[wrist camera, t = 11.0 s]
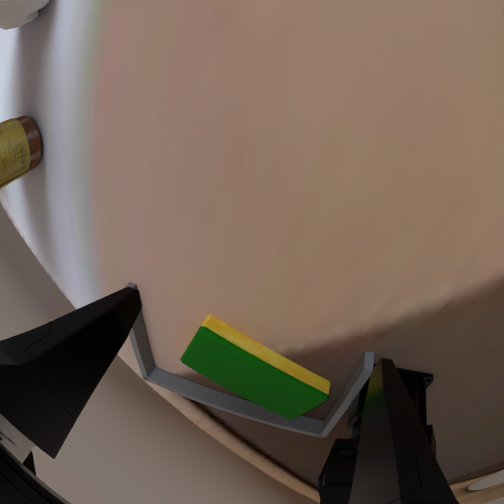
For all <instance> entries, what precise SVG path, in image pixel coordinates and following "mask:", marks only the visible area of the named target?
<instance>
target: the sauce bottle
mask: <svg viewBox="0 0 504 504" xmlns="http://www.w3.org/2000/svg"><path fill="white" fill-rule="evenodd" d="M41 151H42V143H41V136H40V133H39V131H38V128H37V126H36V124H35V123H34V121H33V120H32V119H31V118H29V117H27V116H21V117H18V118H15V119H14V118H13V119H9V120H6V121H4V122H1V123H0V188H2V187H4V186H6V185H7V184H9V183H11V182H12V181H14V180H16V179H18V178H20V177H21V176H23V175H25V174H27V173H28V171H30V170H32V169H33V168H35V167H36V166H37V165H38V163H39V162H40V158H41Z"/></svg>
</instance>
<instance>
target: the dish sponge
mask: <svg viewBox="0 0 504 504" xmlns="http://www.w3.org/2000/svg"><path fill="white" fill-rule="evenodd" d="M180 360H181V361H182V363H184V364H185V365H187V366H189V367H190V368H192V369H194V370H195V371H197V372H199V373H201V374H202V375H204V376H206V377H207V378H209V379H211V380H213V381H214V382H216V383H218V384H220V385H222V386H223V387H225V388H227V389H229V390H231V391H233V392H234V393H236V394H238V395H240V396H242V397H244V398H246V399H248V400H250V401H252V402H254V403H256V404H258V405H260V406H262V407H264V408H266V409H268V410H270V411H272V412H274V413H276V414H278V415H280V416H282V417H284V418H287V419H294V418H296V417H298V416H300V415H301V414H303V413H305V412H307V411H309V410H311V409H312V408H314V407H316V406H318V405H319V404H321V403H323V402H325V401H326V400H328V395H329V391H330V386H331V383H330V381H328V380H326V379H324V378H322V377H320V376H318V375H316V374H315V373H313V372H311V371H309V370H307V369H305V368H303V367H301V366H299V365H298V364H296V363H294V362H292V361H290V360H288V359H287V358H285V357H283V356H281V355H279V354H278V353H276V352H274V351H272V350H270V349H269V348H267V347H265V346H263V345H262V344H260V343H258V342H256V341H255V340H253V339H251V338H249V337H248V336H246V335H244V334H243V333H241V332H239V331H237V330H236V329H234V328H232V327H231V326H229V325H227V324H226V323H224V322H222V321H221V320H219V319H218V318H216V317H214V316H213V315H207V317H206V318H205V320H204V322H203V323H202V325H201V326H200V328H199V330H198V331H197V333H196V335H195V336H194V338H193V339H192V341H191V343H190V344H189V346H188V348H187V349H186V351H185V353H184V354H183V356H182V357H181V359H180Z"/></svg>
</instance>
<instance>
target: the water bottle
mask: <svg viewBox="0 0 504 504" xmlns="http://www.w3.org/2000/svg"><path fill="white" fill-rule="evenodd" d="M49 1H50V0H0V28H2V29H5V30H7V29H12V28H16V27H19V26H22V25H24V24H27V23H28V22H30V21H32V20H34V19H35V18H36V17H37V16H38V14H39V12H38V10H39V9H41V8H43V7H44V6H46V5H47V3H48V2H49Z"/></svg>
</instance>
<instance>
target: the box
mask: <svg viewBox="0 0 504 504" xmlns="http://www.w3.org/2000/svg"><path fill="white" fill-rule="evenodd" d="M126 287H133V288H136V289H137V287H136V284H133V283H129V284H128V285H127V286H126ZM126 287H125V288H126ZM129 336H130V339H131V342H132V346H133V349H134V352H135V355H136V358H137V361H138V364H139V367H140V370H141V373H142V376H143V379H145V380H147V381H149V382H152V383H154V384H156V385H158V386H161V387H163V388H165V389H168V390H170V391H172V392H175V393H177V394H180V395H182V396H185V397H187V398H190V399H192V400H195V401H198V402H200V403H203V404H206V405H208V406H211V407H214V408H217V409H220V410H222V411H225V412H228V413H231V414H234V415H238V416H241V417H244V418H247V419H250V420H254V421H257V422H260V423H264V424H267V425H271V426H275V427H278V428H282V429H286V430H290V431H294V432H298V433H302V434H307V435H311V436H316V437H320V438H326V436H327V435H328V434H329V433H330V431H331V430H332V429H333V427H334V426H335V425H336V423H337V422H338V421H339V419H340V418H341V417H342V415H343V414H344V413H345V411H346V410H347V409H348V407H349V406H350V404H351V403H352V401H353V400H354V398H355V397H356V395H357V394H358V393H359V391H360V390H361V389H362V387H363V386H364V384H365V383H366V381H367V380H368V378H369V376H370V375H371V373H372V371H373V363H374V353H373V352H368V351H365V353H364V355H363V356H362V358H361V360H360V362H359V364H358V365H357V367H356V369H355V371H354V372H353V374H352V376H351V377H350V379H349V381H348V382H347V384H346V386H345V387H344V389H343V391H342V392H341V394H340V396H339V397H338V399H337V400H336V402H335V404H334V405H333V407H332V408H331V410H330V411H329V413H328V414H327V416H326V417H325V419H324V420H318V419H314V418H309V417H305V416H301V415H300V416H298V417H296V418H294V419H287V418H284V417H282V416H280V415H278V414H276V413H274V412H272V411H270V410H268V409H266V408H264V407H262V406H260V405H258V404H256V403H253V402H250V401H247V400H243V399H240V398H237V397H234V396H231V395H228V394H225V393H222V392H219V391H216V390H213V389H211V388H208V387H205V386H202V385H200V384H197V383H194V382H192V381H189V380H186V379H184V378H181V377H179V376H176V375H174V374H171V373H169V372H166V371H164V370H162V369H159V368H157V367H155V365H154V361H153V357H152V353H151V349H150V345H149V341H148V337H147V333H146V329H145V325H144V320H143V316H142V311H140V313H139V315H138V317H137V319H136V321H135V323H134V325H133V327H132V329H131V331H130V333H129Z"/></svg>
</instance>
